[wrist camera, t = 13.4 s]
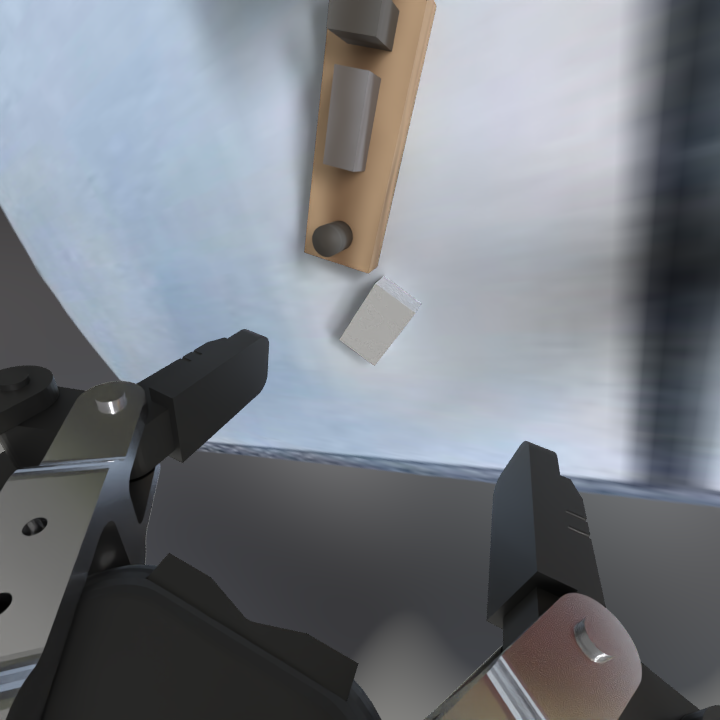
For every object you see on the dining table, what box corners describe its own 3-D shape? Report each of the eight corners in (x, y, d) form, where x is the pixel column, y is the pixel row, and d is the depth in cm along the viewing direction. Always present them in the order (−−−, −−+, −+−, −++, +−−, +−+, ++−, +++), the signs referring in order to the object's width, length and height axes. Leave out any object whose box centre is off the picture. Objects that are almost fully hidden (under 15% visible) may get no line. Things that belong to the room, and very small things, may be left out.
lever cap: (422, 302, 40) (415, 313, 37) (382, 353, 45) (374, 365, 43) (384, 275, 40) (375, 283, 37) (349, 328, 46) (339, 339, 43)
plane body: (436, 5, 28) (417, -36, 22) (377, 266, 40) (355, 283, 34) (347, -8, 29) (307, -49, 24) (316, 247, 41) (285, 260, 36)
